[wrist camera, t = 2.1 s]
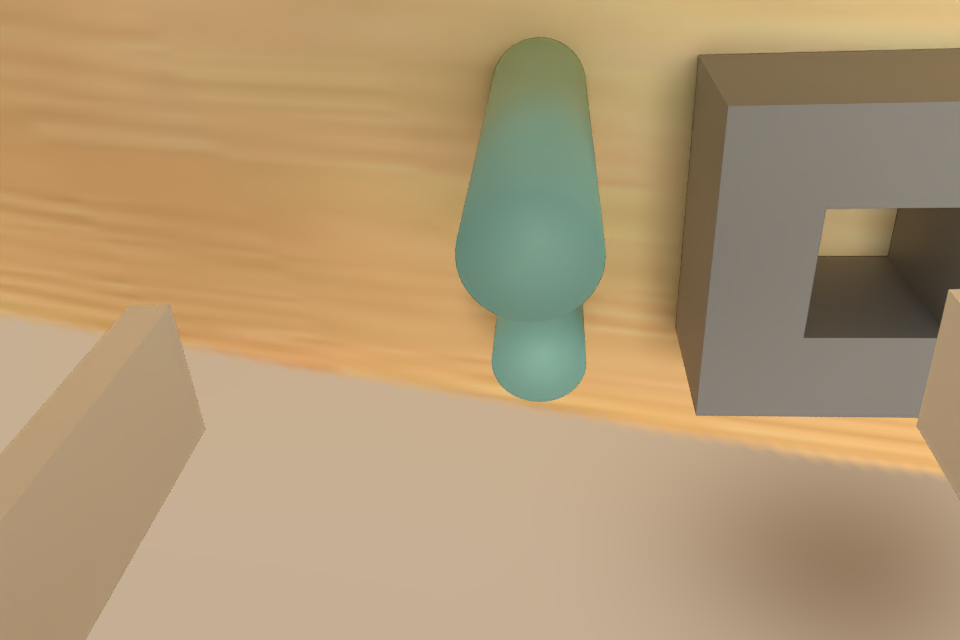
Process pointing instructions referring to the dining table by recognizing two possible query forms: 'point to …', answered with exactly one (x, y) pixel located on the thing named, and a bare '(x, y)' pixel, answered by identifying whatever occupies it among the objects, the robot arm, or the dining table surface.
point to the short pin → (540, 356)
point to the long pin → (533, 190)
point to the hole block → (818, 231)
